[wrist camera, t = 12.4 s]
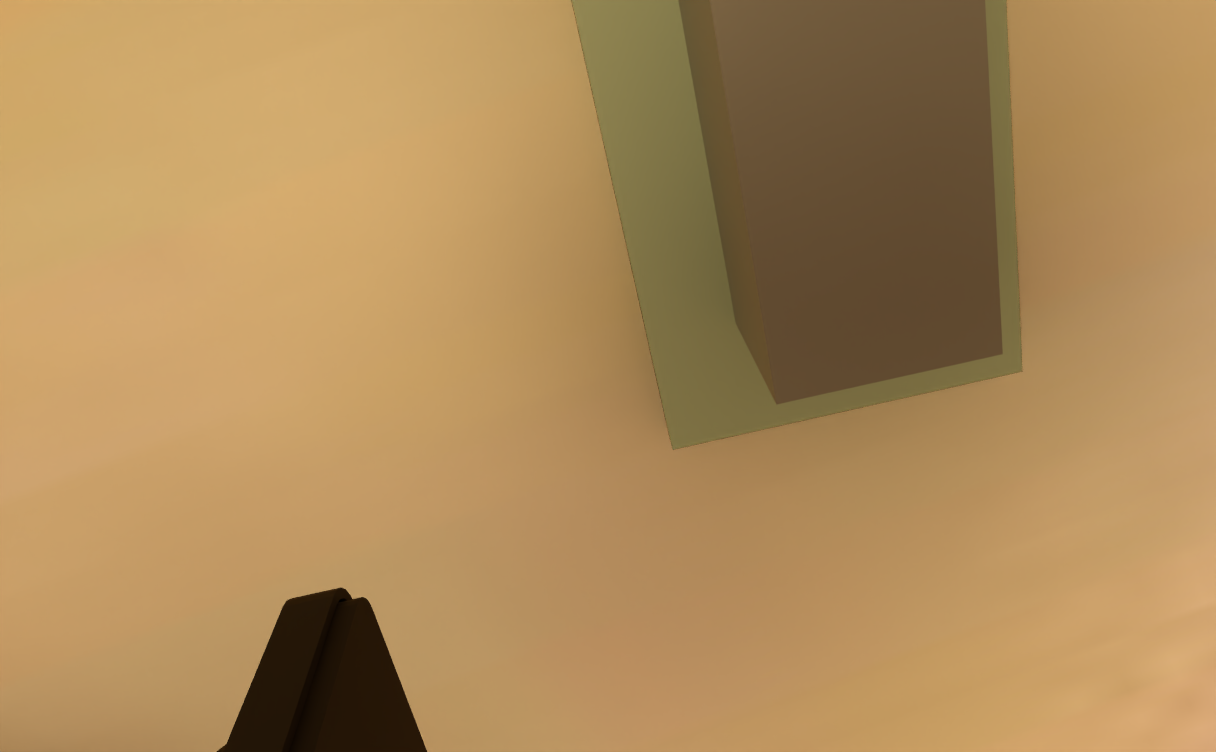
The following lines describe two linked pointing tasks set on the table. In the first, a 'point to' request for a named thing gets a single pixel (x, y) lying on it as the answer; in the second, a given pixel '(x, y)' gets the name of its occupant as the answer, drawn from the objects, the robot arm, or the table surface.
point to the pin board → (690, 239)
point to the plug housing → (851, 183)
